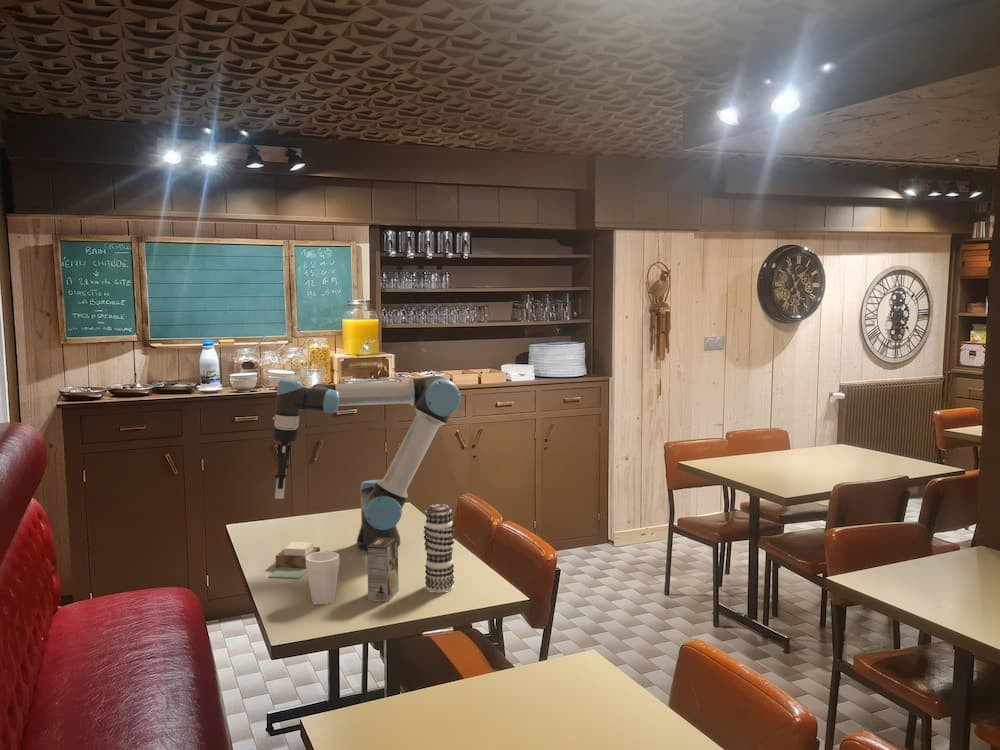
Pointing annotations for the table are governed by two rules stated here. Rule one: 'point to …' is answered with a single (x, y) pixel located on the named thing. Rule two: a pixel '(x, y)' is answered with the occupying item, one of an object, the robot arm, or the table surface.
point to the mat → (288, 573)
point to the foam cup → (322, 575)
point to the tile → (298, 548)
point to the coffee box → (382, 568)
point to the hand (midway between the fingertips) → (279, 493)
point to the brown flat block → (293, 560)
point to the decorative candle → (439, 548)
